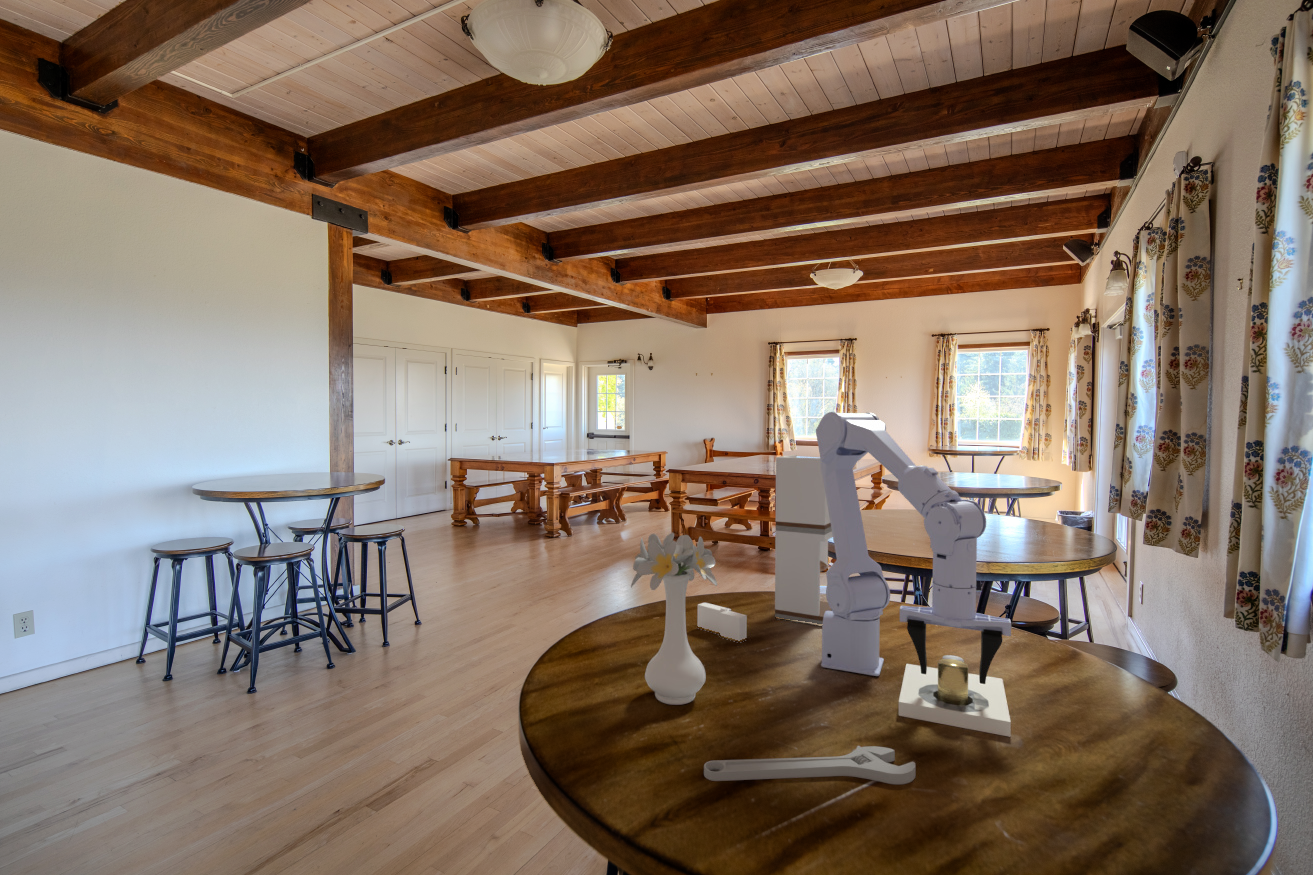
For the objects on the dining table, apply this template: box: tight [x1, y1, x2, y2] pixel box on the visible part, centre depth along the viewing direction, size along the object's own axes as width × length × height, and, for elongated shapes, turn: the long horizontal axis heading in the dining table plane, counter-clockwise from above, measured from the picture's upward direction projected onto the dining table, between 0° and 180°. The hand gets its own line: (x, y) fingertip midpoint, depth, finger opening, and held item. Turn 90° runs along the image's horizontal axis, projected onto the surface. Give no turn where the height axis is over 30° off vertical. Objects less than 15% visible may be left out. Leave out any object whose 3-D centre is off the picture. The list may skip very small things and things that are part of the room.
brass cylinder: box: [937, 658, 969, 706], centre depth 90 cm, size 4×4×7 cm
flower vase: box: [630, 532, 718, 706], centre depth 95 cm, size 13×18×25 cm
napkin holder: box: [696, 602, 748, 641], centre depth 123 cm, size 15×11×6 cm
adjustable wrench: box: [703, 745, 917, 785], centre depth 75 cm, size 25×6×2 cm, turn 89°
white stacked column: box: [774, 454, 833, 624], centre depth 136 cm, size 11×11×35 cm
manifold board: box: [898, 654, 1012, 738], centre depth 93 cm, size 14×16×5 cm
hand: (952, 676), depth 90 cm, fingers open, 7 cm apart
